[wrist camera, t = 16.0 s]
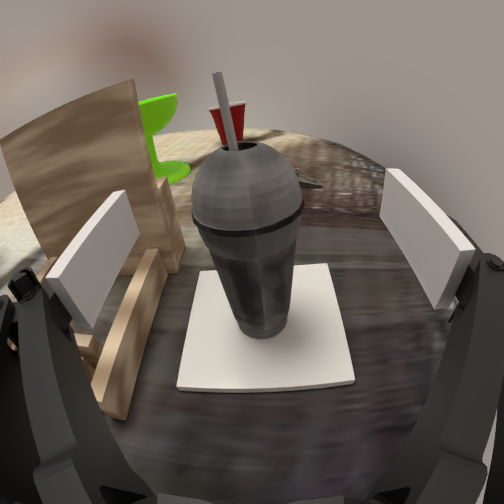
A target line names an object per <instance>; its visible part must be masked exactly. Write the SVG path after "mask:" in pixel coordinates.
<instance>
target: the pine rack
mask: <svg viewBox="0 0 504 504" xmlns="http://www.w3.org/2000/svg"><path fill="white" fill-rule="evenodd" d="M0 145H1V149H2V152H3V155H4V159H5V162H6V165H7V168H8V171H9V174H10V176H11V179H12V181H13V185H14V187H15V190H16V193H17V195H18V198H19V200H20V202H21V205H22V207H23V210H24V212H25V214H26V216H27V219H28V221H29V223H30V225H31V227H32V229H33V231H34V233H35V235H36V237H37V239H38V241H39V243H40V245H41V247H42V249H43V251H44V253H45V255H46V257H47V258H48V262H47V263H46V264H45V266H44V267H43V269H42V270H41V271H40V273H39V274H38V276H37V279H38V280H39V282H40V284H41V283H42V281H43V280H44V278H45V277H46V275H47V274H48V272H49V271H50V269H51V268H52V266H53V265H54V264H55V262H56V261H57V259H59V257H60V255H61V254H62V253H63V251H64V250H65V249H66V248H67V247H68V245H69V244H70V243H71V241H72V240H73V239H74V238H75V236H76V235H77V234H78V232H79V231H80V230H81V229H82V228H83V226H84V225H85V224H86V223H87V221H88V220H89V219H90V218H91V217H92V215H93V214H94V213H95V212H96V211H97V210H98V208H99V207H100V206H101V205H102V204H103V203H104V202H105V200H106V199H107V198H108V197H109V196H110V195H111V194H112V193H113V192H116V191H121V190H125V191H126V194H127V197H128V200H129V203H130V206H131V209H132V212H133V215H134V218H135V221H136V224H137V227H138V230H139V232H140V235H139V237H138V238H137V240H136V242H135V244H134V246H133V247H132V249H131V251H130V253H129V255H128V257H127V258H126V260H125V262H124V264H123V266H122V268H121V270H120V272H119V274H118V276H128V275H134V276H133V278H132V280H131V283H130V285H129V287H128V289H127V291H126V294H125V296H124V298H123V301H122V303H121V305H120V308H119V310H118V312H117V315H116V317H115V320H114V322H113V325H112V327H111V330H110V332H109V335H108V337H107V340H106V343H105V345H104V348H103V351H102V353H101V356H100V359H99V362H98V364H97V367H96V370H95V373H94V376H93V379H92V382H91V387H92V389H93V392H94V395H95V397H96V399H97V402H98V404H99V407H100V409H101V410H102V411H103V412H105V413H106V414H107V415H109V416H110V417H112V418H116V419H120V420H125V421H126V420H127V415H128V411H129V407H130V402H131V398H132V394H133V390H134V386H135V382H136V378H137V375H138V371H139V367H140V364H141V360H142V356H143V353H144V349H145V346H146V342H147V339H148V336H149V332H150V329H151V326H152V322H153V319H154V316H155V313H156V310H157V307H158V304H159V300H160V297H161V294H162V291H163V288H164V285H165V283H166V280H167V277H168V274H175V273H178V272H179V269H180V266H181V264H180V260H181V257H182V254H183V251H184V248H185V242H184V239H183V235H182V232H181V228H180V224H179V221H178V217H177V213H176V209H175V205H174V202H173V198H172V194H171V190H170V186H169V182H168V177H161V178H155V174H154V170H153V166H152V162H151V158H150V154H149V150H148V145H147V141H146V137H145V132H144V128H143V123H142V118H141V113H140V108H139V103H138V98H137V93H136V87H135V81H134V79H132V80H127V81H124V82H121V83H118V84H115V85H112V86H109V87H106V88H103V89H101V90H98V91H95V92H93V93H90V94H88V95H85V96H83V97H80V98H78V99H76V100H73V101H71V102H69V103H67V104H64V105H62V106H60V107H58V108H56V109H54V110H52V111H50V112H48V113H46V114H44V115H42V116H40V117H38V118H36V119H34V120H32V121H31V122H29V123H27V124H25V125H24V126H22V127H20V128H18V129H17V130H15V131H13V132H12V133H10V134H8V135H7V136H5V137H4V138H2V139H0ZM7 344H8V345H9V346H10V347H11V346H12V344H13V343H12V342H11V341H10V339H9V338H8V340H7Z"/></svg>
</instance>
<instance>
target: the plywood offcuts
mask: <svg viewBox="0 0 504 504" xmlns="http://www.w3.org/2000/svg"><path fill="white" fill-rule="evenodd" d="M74 335H75V339H76V342H77V346H78V349H79V352H80V355H81V358H82V362H83V365H84V367H85V370H86V373H87V376H88V379H89V382H90V384H91V382H92V379H93V376H94V373H95V370H96V367H97V364H98V362H99V359H100V356H101V353H102V351H103V348H102V347H101V346H100V344H99V343H98V342H97V341H96V339H95V338H94V337H93V336H92V335H84V334H75V333H74ZM11 348H12V349H13V350H15V345H14V344H12V346H11Z"/></svg>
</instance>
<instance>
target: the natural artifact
mask: <svg viewBox="0 0 504 504" xmlns="http://www.w3.org/2000/svg"><path fill="white" fill-rule="evenodd" d="M294 171H295V173H296V175H297V178H298V181H299V185H300V187H312V188H314V187H320V186H323V183H320V182H319V181H316V180H315V179H312V178H309V177H307V176H304V175H302V174H298V168H295V169H294Z"/></svg>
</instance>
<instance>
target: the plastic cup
mask: <svg viewBox="0 0 504 504" xmlns="http://www.w3.org/2000/svg"><path fill="white" fill-rule="evenodd" d="M245 103H246V101H240V102H234V103H229V107H230V112H231V117H232V121H233V126H234V131H235V135H236V140H237V141H242V140H243V130H244V112H245ZM208 110H209V111H210V112H211V114H212V117H213V119H214V122H215V125H216V128H217V131H218V134H219V136H220V139H221V142H222V144H223V145H226V144H228V142H227V138H226V133H225V129H224V125H223V120H222V116H221V111H220V107H219V105H218V106H214V107H210V108H208Z"/></svg>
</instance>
